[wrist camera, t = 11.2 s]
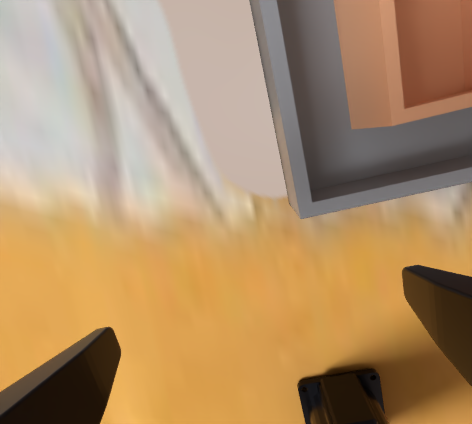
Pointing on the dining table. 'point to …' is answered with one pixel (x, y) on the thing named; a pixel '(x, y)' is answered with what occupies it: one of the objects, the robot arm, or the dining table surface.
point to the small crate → (404, 59)
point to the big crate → (344, 121)
